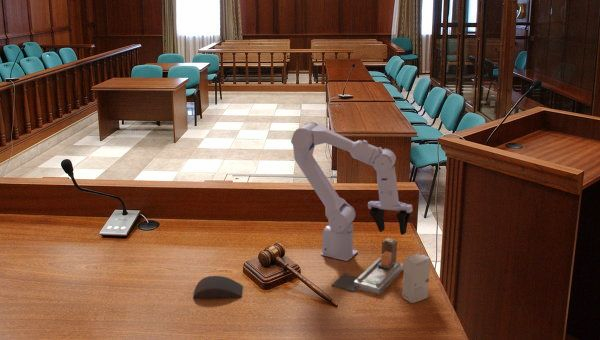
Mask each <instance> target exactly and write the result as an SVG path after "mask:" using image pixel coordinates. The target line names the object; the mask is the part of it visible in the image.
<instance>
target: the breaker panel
mask: <svg viewBox="0 0 600 340" xmlns="http://www.w3.org/2000/svg"><path fill="white" fill-rule="evenodd" d="M379 262H381V257H378V258H377V259H376V260H375V261H374V262H373V263H372V264H371V265H370V266H369V267H367V268H366V270H364V272H363V273H361V274H360V275H359V276H357V277H358V278H357V279H356V280H355V281H354V287H356V288H357V289H356V290H358V291H359V290H360V291H363V292H365V293H369V294H373V295H378V296H380V295H381V294H382V293H383V292H384V291H385V290H386V289H387V288H388V287H389V285H391V284H392V282H393V281H394V280H395V279H396V278H397V277H398V276H399V275H400V274H401V273H402V272H403V271H404V263H401V261H395V264H394V265H393V266H392V267H391V268H390V269H387V268H383V267H379V266H377V264H378V263H379ZM391 262H394V261H391Z"/></svg>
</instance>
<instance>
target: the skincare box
mask: <svg viewBox="0 0 600 340" xmlns="http://www.w3.org/2000/svg"><path fill="white" fill-rule="evenodd" d="M403 260H404V262H403V264H404V265H403V279H402V298H403V299H404V300H406V301H408V302H409V303H411V304H414V303H417V302H420V301H423V300H426V299H427V298H428V297H429V283H430V270H431V269H430V268H431V267H430V266H431V257H429V256H427V255H425V254H423V253H421V252H420V253H416V254H411V255H409V256H406V257H404V259H403Z"/></svg>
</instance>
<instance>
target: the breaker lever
mask: <svg viewBox="0 0 600 340" xmlns="http://www.w3.org/2000/svg"><path fill="white" fill-rule="evenodd" d="M391 257H392V253H391V252H387V251H385V252H384V253H383V254H382V253H381V262H379V263H378V264H377V266H379V267H383V268H387V269H390V268H391V267H392V266H393V265H394V264H395V262H396V261H395V262H391Z"/></svg>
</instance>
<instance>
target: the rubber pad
mask: <svg viewBox="0 0 600 340" xmlns="http://www.w3.org/2000/svg"><path fill="white" fill-rule="evenodd" d="M358 277H359V276H356V275H352V274H347V273H343V274H341V276H340V277H339V278H337V279H336V280H335V281H334V282H333V283H332V284H331V287H334V288H338V289H342V290H346V291H349V292H353V293H354V292H355V291H356V290H358V289H357V288H356V287H354V281H355V280H356V279H357V278H358Z"/></svg>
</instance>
